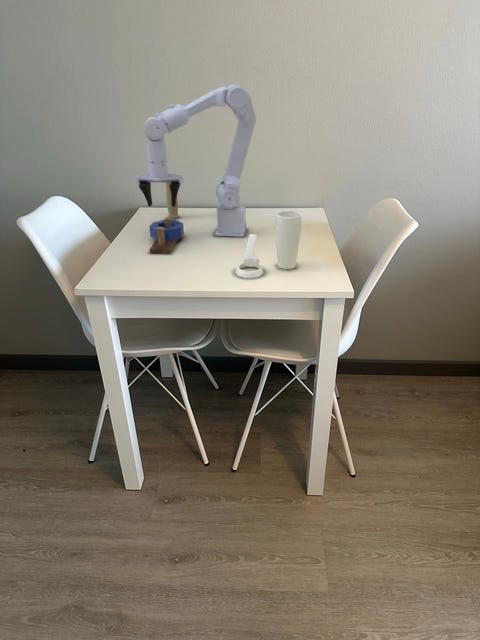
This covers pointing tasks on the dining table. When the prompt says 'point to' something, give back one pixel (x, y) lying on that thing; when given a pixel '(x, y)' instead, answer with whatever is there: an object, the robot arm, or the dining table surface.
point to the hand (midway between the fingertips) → (162, 205)
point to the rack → (163, 240)
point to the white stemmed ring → (250, 260)
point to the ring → (167, 230)
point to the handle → (171, 210)
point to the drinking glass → (287, 237)
